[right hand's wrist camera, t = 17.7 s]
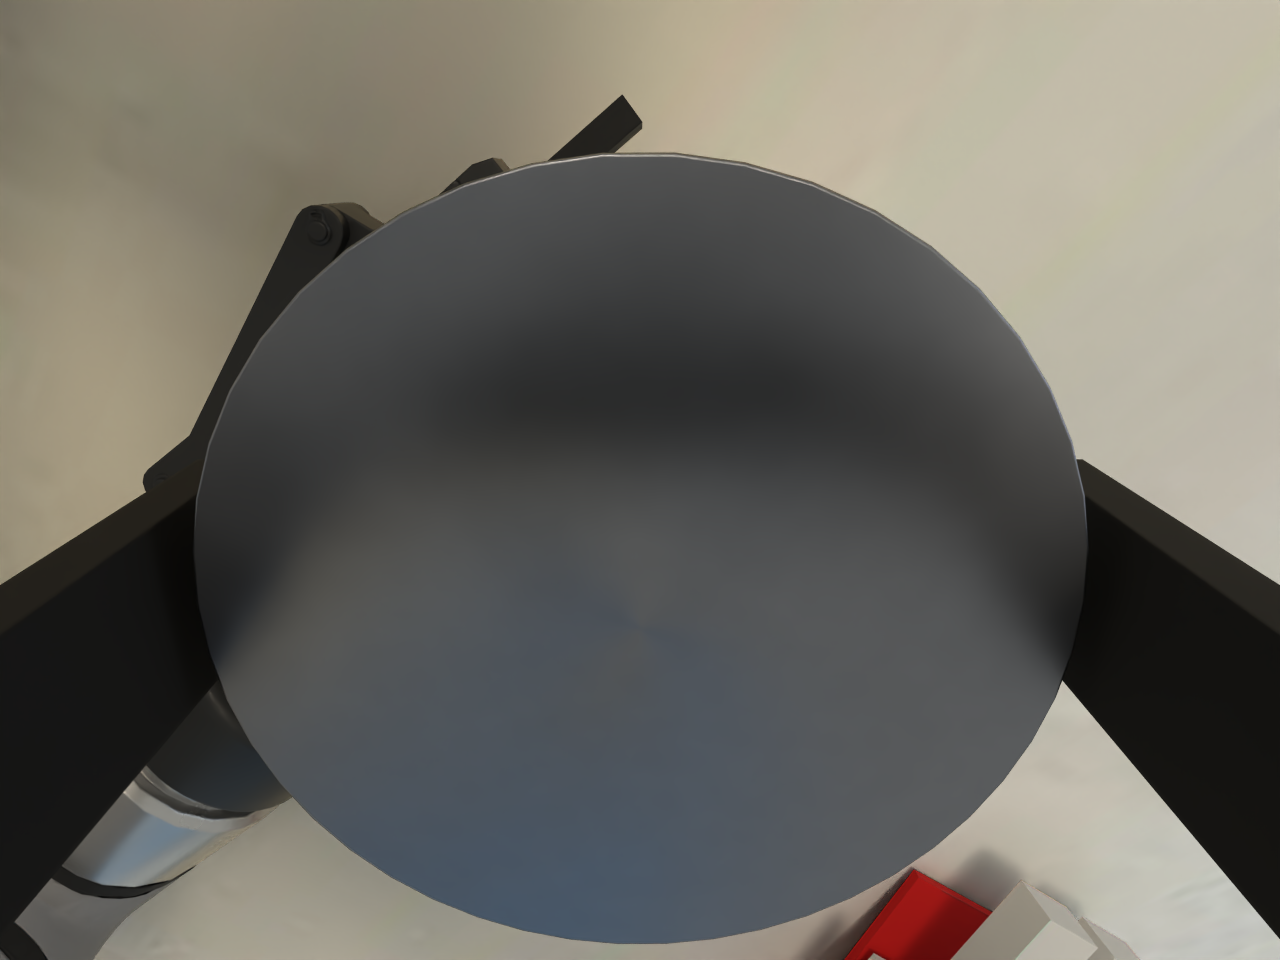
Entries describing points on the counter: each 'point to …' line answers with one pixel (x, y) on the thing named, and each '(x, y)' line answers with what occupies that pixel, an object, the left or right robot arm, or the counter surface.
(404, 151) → the counter surface
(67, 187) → the counter surface
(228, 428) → the lid
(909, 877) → the toy
